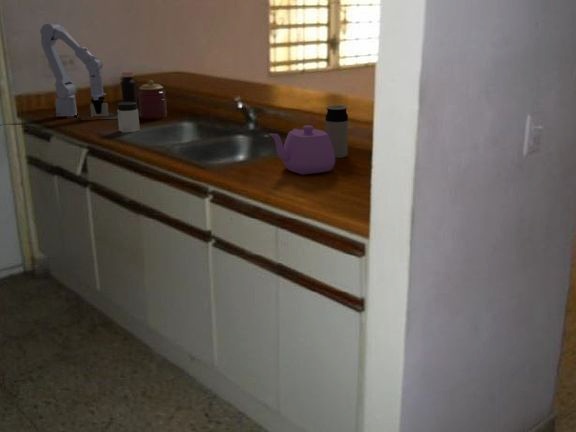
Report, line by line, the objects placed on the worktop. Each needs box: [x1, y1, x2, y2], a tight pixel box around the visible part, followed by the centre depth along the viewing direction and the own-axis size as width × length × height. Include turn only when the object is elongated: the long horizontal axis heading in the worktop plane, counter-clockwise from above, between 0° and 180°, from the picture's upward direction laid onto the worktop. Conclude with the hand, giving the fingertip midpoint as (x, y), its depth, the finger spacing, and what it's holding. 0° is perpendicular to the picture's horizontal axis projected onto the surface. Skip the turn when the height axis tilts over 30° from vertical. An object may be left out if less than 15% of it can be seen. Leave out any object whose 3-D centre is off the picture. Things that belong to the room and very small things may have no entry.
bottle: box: [120, 71, 138, 104], centre depth 336 cm, size 7×7×20 cm
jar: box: [117, 101, 141, 134], centre depth 295 cm, size 9×8×12 cm
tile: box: [89, 102, 110, 117], centre depth 328 cm, size 2×8×6 cm, turn 98°
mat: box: [101, 113, 118, 120], centre depth 328 cm, size 18×14×1 cm
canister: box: [137, 79, 168, 120], centre depth 324 cm, size 13×13×18 cm
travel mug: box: [325, 104, 349, 159], centre depth 245 cm, size 8×8×18 cm
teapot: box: [268, 124, 336, 176], centre depth 227 cm, size 23×21×15 cm
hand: (99, 112), depth 328 cm, fingers open, 5 cm apart
